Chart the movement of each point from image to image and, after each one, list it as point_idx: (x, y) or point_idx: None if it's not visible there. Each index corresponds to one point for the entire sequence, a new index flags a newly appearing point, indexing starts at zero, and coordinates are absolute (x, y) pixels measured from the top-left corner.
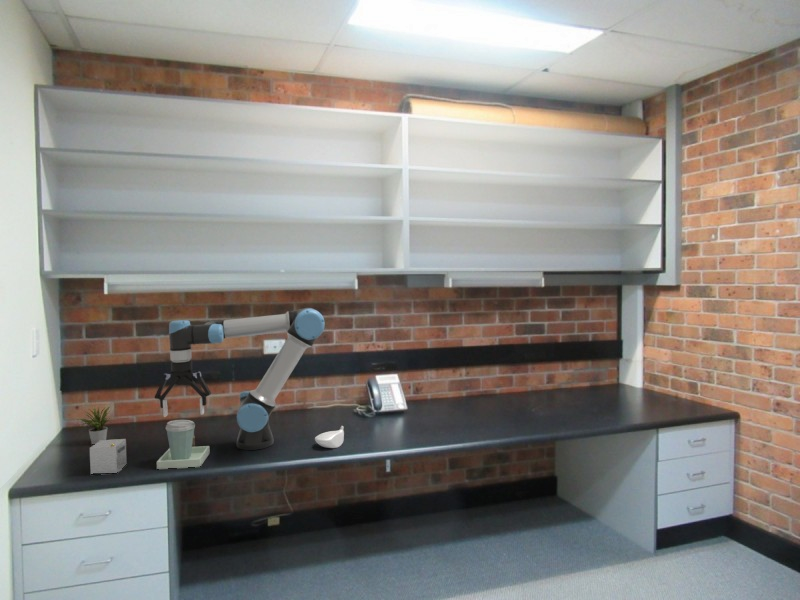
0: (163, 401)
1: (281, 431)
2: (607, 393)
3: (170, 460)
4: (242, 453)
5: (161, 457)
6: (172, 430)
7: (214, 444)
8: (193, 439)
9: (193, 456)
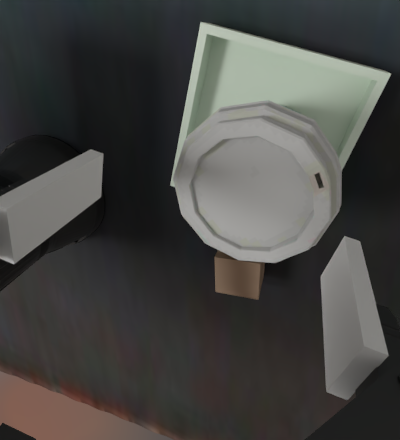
0: (376, 339)
1: None
2: None
3: (326, 63)
4: (80, 121)
5: (358, 129)
6: (306, 119)
7: (169, 250)
8: (220, 254)
9: None
